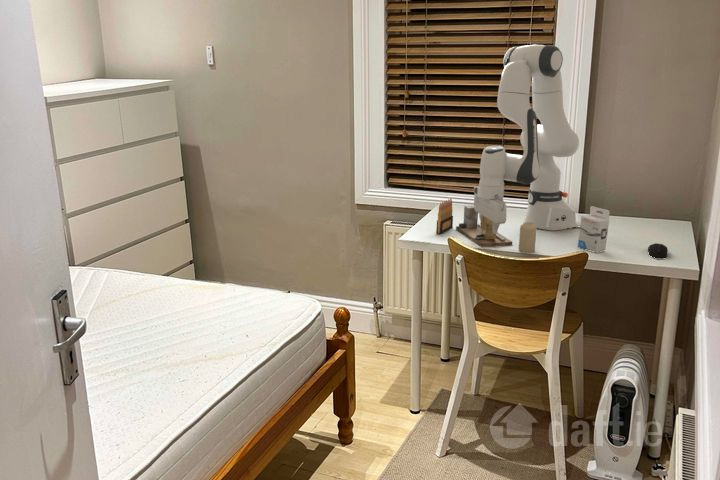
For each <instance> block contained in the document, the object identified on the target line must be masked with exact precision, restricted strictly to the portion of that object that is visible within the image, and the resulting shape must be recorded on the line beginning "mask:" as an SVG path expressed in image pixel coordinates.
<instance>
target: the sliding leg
mask: <svg viewBox="0 0 720 480" xmlns="http://www.w3.org/2000/svg"><path fill="white" fill-rule="evenodd" d="M491 228H493V221H491V220H489V219H488V218H486V217H485V216H482V226H481V234H476V237H477V238H481V237H482V238H483V239H485V240H490V239H496V234H493V233H492V232H491Z"/></svg>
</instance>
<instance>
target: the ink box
mask: <svg viewBox="0 0 720 480" xmlns="http://www.w3.org/2000/svg"><path fill="white" fill-rule="evenodd" d="M589 209H590V210H589V214H584V215H581V216H580V227H579V233H578V243H577V248H578V247H580V248H579V249H582V248H583V249H582V250H585V249H587V250H586V251H588V250H591V251H594V252H597V253H596V254H599V253H598V252H600V251H604V250H605V251H606V247H607V239H608V232H609V224H610V209H609V210H608V209H605V208H600V207H596V206H593V205H591V206H590V208H589ZM591 251H590V252H591ZM605 251H604V252H605ZM594 252H593V253H594ZM600 253H601V252H600Z"/></svg>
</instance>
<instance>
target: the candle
mask: <svg viewBox="0 0 720 480" xmlns="http://www.w3.org/2000/svg"><path fill="white" fill-rule="evenodd" d="M537 230H538V228H537V227H536V226H535V225H534V223H531V222H529V223H528V222H525V223H524V224H523V223H522V224H521V225H520V227H519V239H518V251H519V252H521V253H527V252H528V253H534V252H535V251H536V250H535V249H536V239H537V238H536V237H537Z"/></svg>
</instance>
